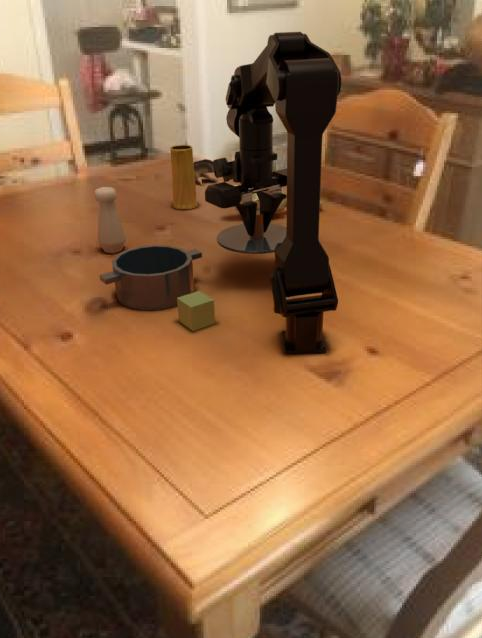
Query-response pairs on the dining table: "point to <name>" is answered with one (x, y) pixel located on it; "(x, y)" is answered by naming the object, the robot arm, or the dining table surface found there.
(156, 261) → the pot
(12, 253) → the dining table surface
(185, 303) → the block
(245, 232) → the lid
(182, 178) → the vase
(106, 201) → the salt shaker
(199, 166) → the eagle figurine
